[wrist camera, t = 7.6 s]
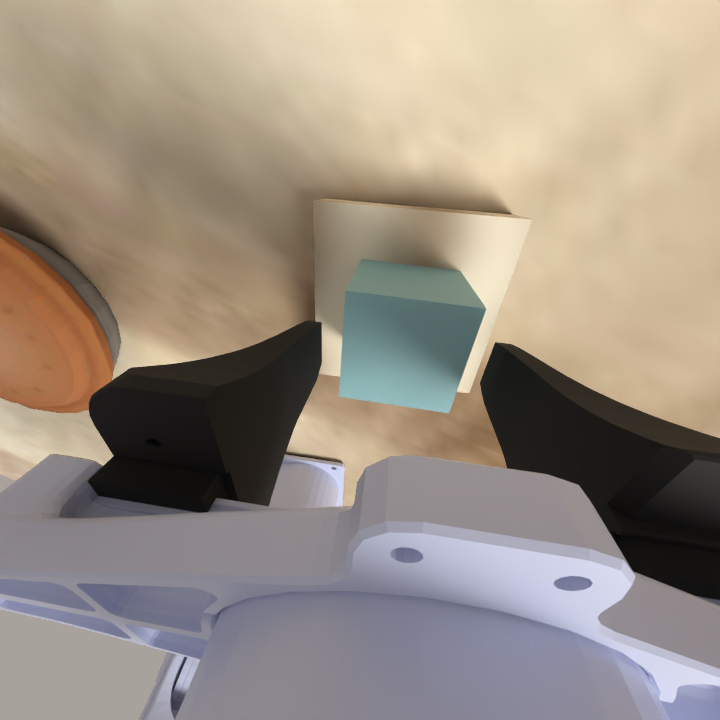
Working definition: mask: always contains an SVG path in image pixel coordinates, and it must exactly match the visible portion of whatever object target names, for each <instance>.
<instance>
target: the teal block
mask: <svg viewBox="0 0 720 720" xmlns="http://www.w3.org/2000/svg"><path fill="white" fill-rule="evenodd" d="M485 312H486V307H485V306H484V304H483V303H482V301H481V300H480V299H479V297H478V296H477V294H476V293H475V291H474V290H473V288H472V287H471V285H470V284H469V283H468V281H467V280H466V278H465V277H464V275H463V274H462V272H461V271H456V270H448V269H440V268H432V267H423V266H415V265H407V264H399V263H391V262H383V261H375V260H366V259H362V260H361V261H360V263H359V265H358V267H357V269H356V271H355V273H354V275H353V277H352V279H351V281H350V282H349V284H348V286H347V288H346V290H345V304H344V320H343V336H342V352H341V368H340V385H339V397H345V398H351V399H358V400H365V401H371V402H378V403H384V404H391V405H398V406H404V407H411V408H417V409H424V410H431V411H437V412H444V413H449V411H450V408H451V406H452V403H453V400H454V397H455V395H456V392H457V389H458V386H459V383H460V381H461V378H462V375H463V372H464V370H465V367H466V364H467V361H468V359H469V356H470V353H471V350H472V348H473V345H474V342H475V339H476V336H477V334H478V331H479V328H480V325H481V323H482V320H483V317H484V314H485Z"/></svg>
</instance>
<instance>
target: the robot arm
mask: <svg viewBox="0 0 720 720" xmlns="http://www.w3.org/2000/svg"><path fill="white" fill-rule="evenodd" d="M321 364H322V322H315V321H305V322H303V323H300V324H298V325H296V326H294V327H292V328H290V329H288V330H286V331H284V332H282V333H280V334H278V335H276V336H274V337H272V338H269V339H267V340H265V341H263V342H260V343H258V344H255V345H253V346H250V347H247V348H244V349H241V350H238V351H235V352H231V353H227V354H223V355H219V356H215V357H211V358H206V359H201V360H196V361H190V362H183V363H176V364H168V365H157V366H147V367H134V368H130V369H128V370H127V371H125V372H124V373H123V374H121V375H120V376H118V377H117V378H115V379H114V380H112V381H111V382H109V383H108V384H106V385H105V386H103V387H102V388H100V389H99V390H98V391H96V392H95V393H94V394H93V395H91V398H90V401H89V413H90V417H91V419H92V421H93V423H94V425H95V427H96V428H97V430H98V431H99V433H100V435H101V436H102V438H103V439H104V441H105V443H106V444H107V446H108V447H109V449H110V451H111V452H112V454H113V455H114V457H112V458H111V459H110V460H109V461H108V462H107V463H106V464H105V465H104V466H102V465H101V464H99V463H97V462H96V461H93V460H89V459H84V458H78V457H71V456H65V455H59V454H51V455H49V456H48V457H47V458H45V459H44V460H43V461H41V462H40V463H39V464H38V465H36V466H35V467H34V468H32V469H31V470H30V471H28V472H27V473H26V474H24V475H23V476H22V477H21V478H19V479H18V480H17V481H15V482H14V483H13V484H12V485H10V486H9V487H8V488H6V489H5V490H4V491H2V492H1V493H0V610H5V611H10V612H15V613H19V614H24V615H28V616H33V617H38V618H42V619H46V620H50V621H54V622H58V623H62V624H67V625H71V626H74V627H78V628H82V629H86V630H90V631H93V632H97V633H101V634H105V635H108V636H112V637H116V638H120V639H123V640H126V641H130V642H134V643H137V644H141V645H144V646H148V647H152V648H155V649H159V650H162V651H166V652H167V655H166V657H165V659H164V662H163V664H162V666H161V668H160V671H159V673H158V676H157V679H156V684H155V686H154V688H153V690H152V693H151V695H150V697H149V699H148V701H147V703H146V705H145V707H144V709H143V711H142V714H141V716H140V718H139V720H720V438H717V437H713V436H710V435H707V434H704V433H701V432H698V431H695V430H692V429H689V428H686V427H683V426H680V425H677V424H674V423H671V422H668V421H665V420H662V419H660V418H657V417H654V416H652V415H649V414H647V413H644V412H641V411H639V410H636V409H634V408H631V407H629V406H626V405H624V404H622V403H620V402H617V401H615V400H613V399H611V398H608V397H606V396H604V395H602V394H600V393H598V392H596V391H594V390H592V389H590V388H588V387H586V386H584V385H582V384H580V383H578V382H576V381H574V380H573V379H571V378H569V377H567V376H565V375H564V374H562V373H560V372H559V371H557V370H555V369H554V368H552V367H550V366H549V365H547V364H545V363H544V362H542V361H540V360H539V359H537V358H535V357H534V356H532V355H531V354H529V353H527V352H525V351H524V350H522V349H520V348H518V347H516V346H514V345H512V344H505V343H496V342H495V345H494V347H493V350H492V353H491V355H490V358H489V361H488V363H487V366H486V368H485V371H484V374H483V376H482V379H481V382H480V385H481V391H482V396H483V400H484V404H485V407H486V409H487V412H488V415H489V418H490V420H491V423H492V425H493V428H494V430H495V433H496V436H497V438H498V441H499V443H500V446H501V449H502V452H503V455H504V458H505V461H506V465H507V468H501V467H494V466H487V465H480V464H473V463H466V462H459V461H453V460H446V459H439V458H432V457H425V456H418V455H414V456H390V457H388V458H386V459H384V460H381V461H379V462H377V463H375V464H372V465H370V466H368V467H366V469H365V470H364V472H363V474H362V475H361V477H360V479H359V481H358V482H357V488H356V495H355V502H354V505H353V506H342V503H343V487H344V470H345V466H344V464H342V463H339V462H332V461H326V460H319V459H312V458H306V457H299V456H292V455H286V454H285V453H286V450H287V447H288V444H289V441H290V438H291V435H292V432H293V430H294V427H295V425H296V422H297V420H298V418H299V416H300V414H301V412H302V410H303V408H304V406H305V403H306V401H307V399H308V397H309V395H310V393H311V391H312V389H313V387H314V385H315V383H316V380H317V377H318V374H319V371H320V368H321Z"/></svg>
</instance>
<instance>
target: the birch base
mask: <svg viewBox="0 0 720 720" xmlns="http://www.w3.org/2000/svg"><path fill="white" fill-rule="evenodd" d="M531 222H532V219H528V218H524V217H521V216H517V215H513V214H501V213H489V212H478V211H466V210H454V209H443V208H431V207H420V206H408V205H396V204H385V203H373V202H361V201H350V200H338V199H326V198H324V199H319V200H313V240H314V286H315V322H322V364H321V368H320V371H319V374H325V375H333V376H340V368H341V352H342V336H343V320H344V304H345V290H346V288H347V286H348V284H349V282H350V281H351V279H352V277H353V275H354V273H355V271H356V269H357V267H358V265H359V263H360V261H361V260H362V259H366V260H375V261H383V262H391V263H399V264H407V265H415V266H423V267H432V268H440V269H448V270H456V271H461V272H462V274H463V275H464V277H465V278H466V280H467V281H468V283H469V284H470V285H471V287H472V288H473V290H474V291H475V293H476V294H477V296H478V297H479V299H480V300H481V301H482V303H483V304H484V306H485V307H486V312H485V314H484V317H483V320H482V323H481V325H480V328H479V331H478V334H477V336H476V339H475V342H474V345H473V348H472V350H471V353H470V356H469V359H468V361H467V364H466V367H465V370H464V372H463V375H462V378H461V381H460V383H459V386H458V389H457V392H464V393H469V392H470V389H471V387H472V384H473V381H474V378H475V376H476V373H477V370H478V367H479V365H480V362H481V359H482V356H483V354H484V351H485V348H486V345H487V343H488V340H489V337H490V335H491V332H492V329H493V326H494V324H495V321H496V318H497V315H498V313H499V310H500V307H501V304H502V302H503V299H504V296H505V293H506V291H507V288H508V285H509V282H510V280H511V277H512V274H513V272H514V269H515V266H516V263H517V261H518V258H519V255H520V252H521V250H522V247H523V244H524V241H525V239H526V236H527V233H528V230H529V228H530V225H531Z"/></svg>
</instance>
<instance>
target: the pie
mask: <svg viewBox="0 0 720 720" xmlns="http://www.w3.org/2000/svg"><path fill="white" fill-rule="evenodd" d="M120 343H121V339H120V334H119V329H118V324H117V322H116V320H115V318H114V316H113V313H112V311H111V309H110V307H109V305H108V303H107V302H106V301H105V299H104V298H103V297H102V295H101V294H100V293H99V292H98V290H97V289H96V288H95V286H94V285H93V284H92V282H90V281H89V280H88V279H87V278H86V277H85V276H84V275H83V274H82V273H81V272H80V271H79V270H78V269H77V268H76V267H75V266H74V265H73V264H72V263H70V262H69V261H68V260H66V259H65V258H63V257H62V256H60V255H59V254H58V253H56V252H55V251H53V250H52V249H50V248H49V247H48V246H46V245H44V244H42V243H39V242H37V241H35V240H33V239H31V238H29V237H26V236H24V235H22V234H20V233H17V232H14V231H11V230H8V229H5V228H2V227H0V398H3V399H5V400H8V401H10V402H15V403H19V404H21V405H24V406H26V407H28V408H32V409H38V410H44V411H50V412H56V413H77V412H81V411H84V410H88V409H89V401H90V398H91V395H93V394H94V393H95V392H96V391H98V390H99V389H100V388H102V387H103V386H105V385H106V384H108V383H109V382H111V381H112V376H113V370H114V367H115V364H116V361H117V358H118V354H119V349H120Z"/></svg>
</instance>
